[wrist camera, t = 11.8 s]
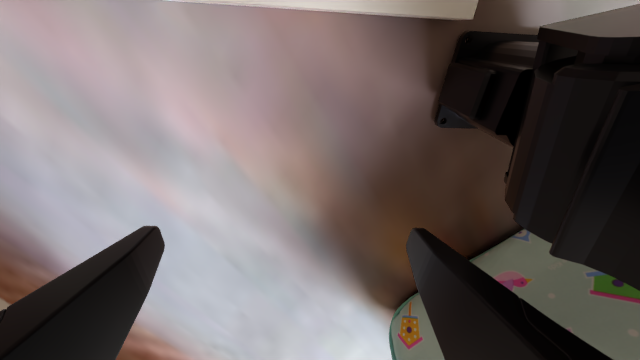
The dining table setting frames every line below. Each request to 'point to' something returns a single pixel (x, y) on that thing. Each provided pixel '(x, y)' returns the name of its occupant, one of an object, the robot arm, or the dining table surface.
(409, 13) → the white rectangular frame
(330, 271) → the dining table surface
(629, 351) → the lunch box
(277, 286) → the dining table surface
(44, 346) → the robot arm
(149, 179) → the dining table surface
